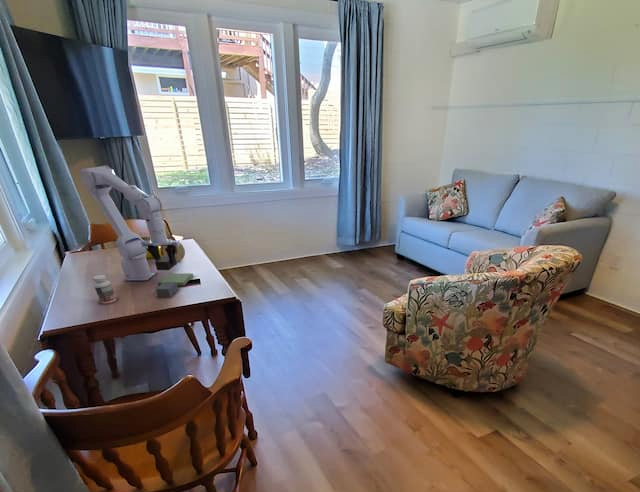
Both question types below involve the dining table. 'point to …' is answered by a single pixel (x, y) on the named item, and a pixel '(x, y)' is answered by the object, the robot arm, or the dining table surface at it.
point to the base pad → (178, 278)
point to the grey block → (167, 289)
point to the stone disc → (178, 253)
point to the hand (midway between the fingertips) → (166, 263)
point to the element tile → (151, 255)
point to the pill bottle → (104, 289)
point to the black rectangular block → (164, 263)
